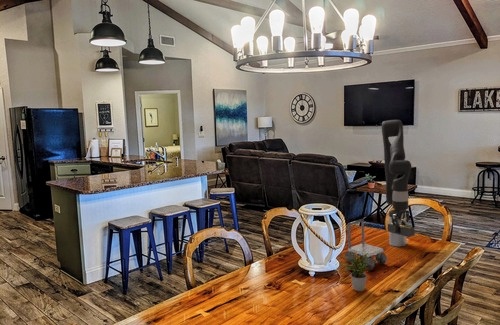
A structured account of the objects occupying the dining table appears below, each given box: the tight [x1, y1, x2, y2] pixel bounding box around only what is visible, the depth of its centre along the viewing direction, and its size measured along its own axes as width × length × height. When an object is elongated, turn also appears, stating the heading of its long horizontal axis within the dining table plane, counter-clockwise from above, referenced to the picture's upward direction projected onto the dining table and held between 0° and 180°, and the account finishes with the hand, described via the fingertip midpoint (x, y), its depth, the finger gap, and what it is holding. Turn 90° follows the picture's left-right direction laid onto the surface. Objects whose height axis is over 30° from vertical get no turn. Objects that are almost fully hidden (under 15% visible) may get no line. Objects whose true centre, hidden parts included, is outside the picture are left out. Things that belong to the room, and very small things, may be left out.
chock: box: [387, 222, 416, 238], centre depth 196 cm, size 13×4×4 cm, turn 29°
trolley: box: [344, 218, 388, 270], centre depth 202 cm, size 18×12×22 cm, turn 35°
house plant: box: [340, 252, 369, 292], centre depth 174 cm, size 14×14×16 cm
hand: (400, 232), depth 196 cm, fingers closed on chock, 5 cm apart
